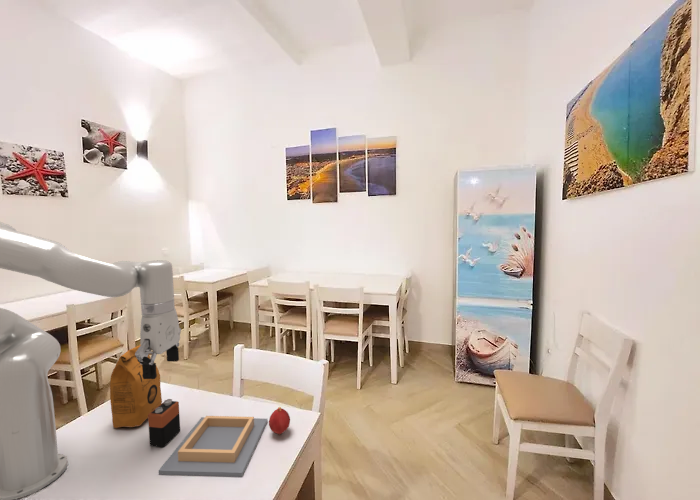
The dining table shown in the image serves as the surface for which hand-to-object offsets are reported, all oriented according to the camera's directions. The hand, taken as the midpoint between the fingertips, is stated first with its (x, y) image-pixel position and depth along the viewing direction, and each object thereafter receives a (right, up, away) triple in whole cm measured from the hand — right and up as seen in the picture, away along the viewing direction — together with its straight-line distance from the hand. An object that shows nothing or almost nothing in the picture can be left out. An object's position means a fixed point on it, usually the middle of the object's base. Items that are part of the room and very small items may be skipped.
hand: (162, 369), depth 84 cm
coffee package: (-14, -19, +11) cm, 26 cm away
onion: (+31, -20, +4) cm, 37 cm away
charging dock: (+16, -20, -1) cm, 25 cm away
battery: (0, -20, +2) cm, 20 cm away
